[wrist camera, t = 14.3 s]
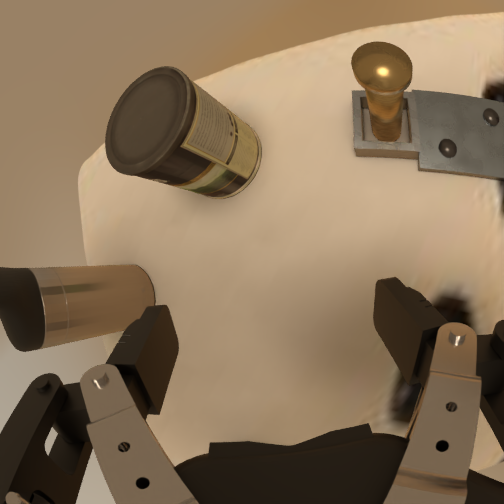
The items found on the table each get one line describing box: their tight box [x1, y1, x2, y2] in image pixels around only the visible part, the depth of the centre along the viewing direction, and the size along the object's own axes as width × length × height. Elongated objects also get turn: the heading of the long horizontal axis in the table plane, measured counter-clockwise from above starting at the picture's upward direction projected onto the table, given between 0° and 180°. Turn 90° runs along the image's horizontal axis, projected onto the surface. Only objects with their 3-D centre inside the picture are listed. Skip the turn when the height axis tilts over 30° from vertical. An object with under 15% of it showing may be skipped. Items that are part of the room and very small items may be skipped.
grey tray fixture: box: [352, 90, 504, 181], centre depth 23 cm, size 19×9×2 cm, turn 84°
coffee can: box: [105, 66, 261, 199], centre depth 28 cm, size 10×10×14 cm
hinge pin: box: [351, 42, 412, 142], centre depth 21 cm, size 4×4×12 cm
